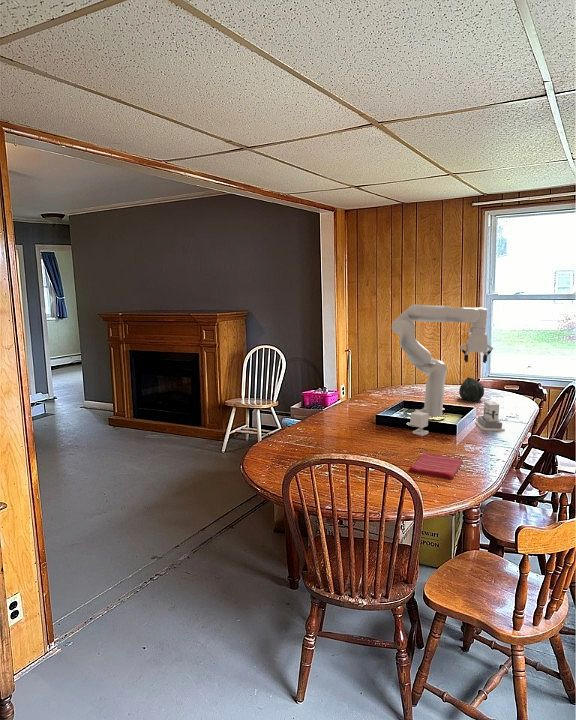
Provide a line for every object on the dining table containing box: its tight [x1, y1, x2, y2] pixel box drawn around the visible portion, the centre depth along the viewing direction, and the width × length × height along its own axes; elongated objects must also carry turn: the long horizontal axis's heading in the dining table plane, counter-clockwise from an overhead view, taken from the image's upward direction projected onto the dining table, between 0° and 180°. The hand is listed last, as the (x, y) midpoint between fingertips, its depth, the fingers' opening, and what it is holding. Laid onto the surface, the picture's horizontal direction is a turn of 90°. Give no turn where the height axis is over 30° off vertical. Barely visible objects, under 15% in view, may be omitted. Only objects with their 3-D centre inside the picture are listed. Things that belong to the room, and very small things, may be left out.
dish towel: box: [408, 451, 463, 481], centre depth 215 cm, size 17×24×3 cm
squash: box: [458, 376, 485, 402], centre depth 334 cm, size 14×15×15 cm
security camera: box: [409, 411, 429, 437], centre depth 260 cm, size 6×7×10 cm
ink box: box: [482, 400, 500, 422], centre depth 274 cm, size 8×5×12 cm, turn 179°
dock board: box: [474, 415, 506, 432], centre depth 275 cm, size 11×13×4 cm
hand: (475, 362), depth 290 cm, fingers open, 9 cm apart
